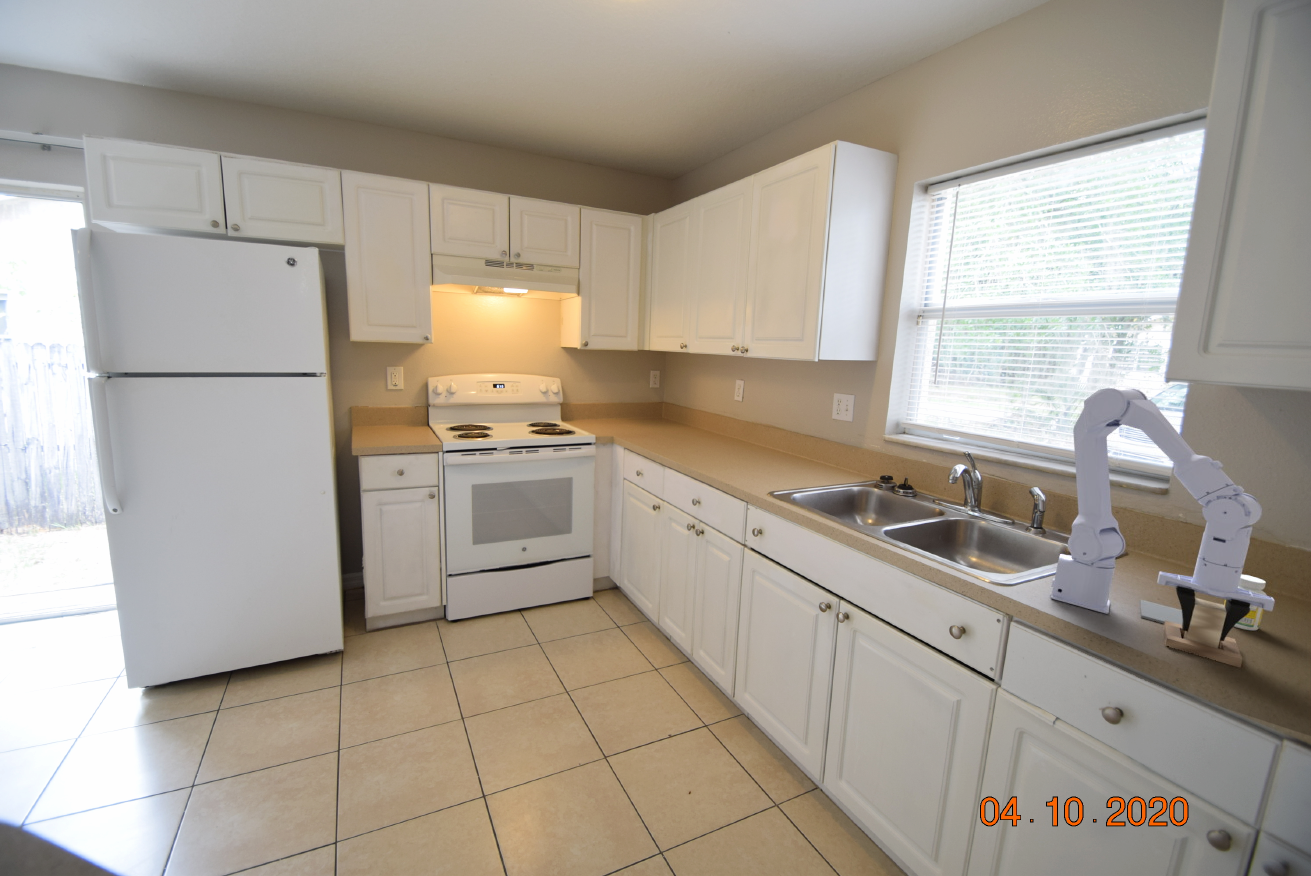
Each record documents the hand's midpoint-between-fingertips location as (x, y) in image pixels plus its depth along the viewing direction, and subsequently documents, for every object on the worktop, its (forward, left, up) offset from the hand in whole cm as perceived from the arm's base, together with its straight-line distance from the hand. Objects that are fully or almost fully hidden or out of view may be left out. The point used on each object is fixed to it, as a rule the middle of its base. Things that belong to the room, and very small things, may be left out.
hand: (1202, 633), depth 102 cm
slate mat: (-3, +12, -2) cm, 13 cm away
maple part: (0, 0, -2) cm, 2 cm away
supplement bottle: (+7, +19, -3) cm, 20 cm away
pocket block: (0, 0, -2) cm, 2 cm away
